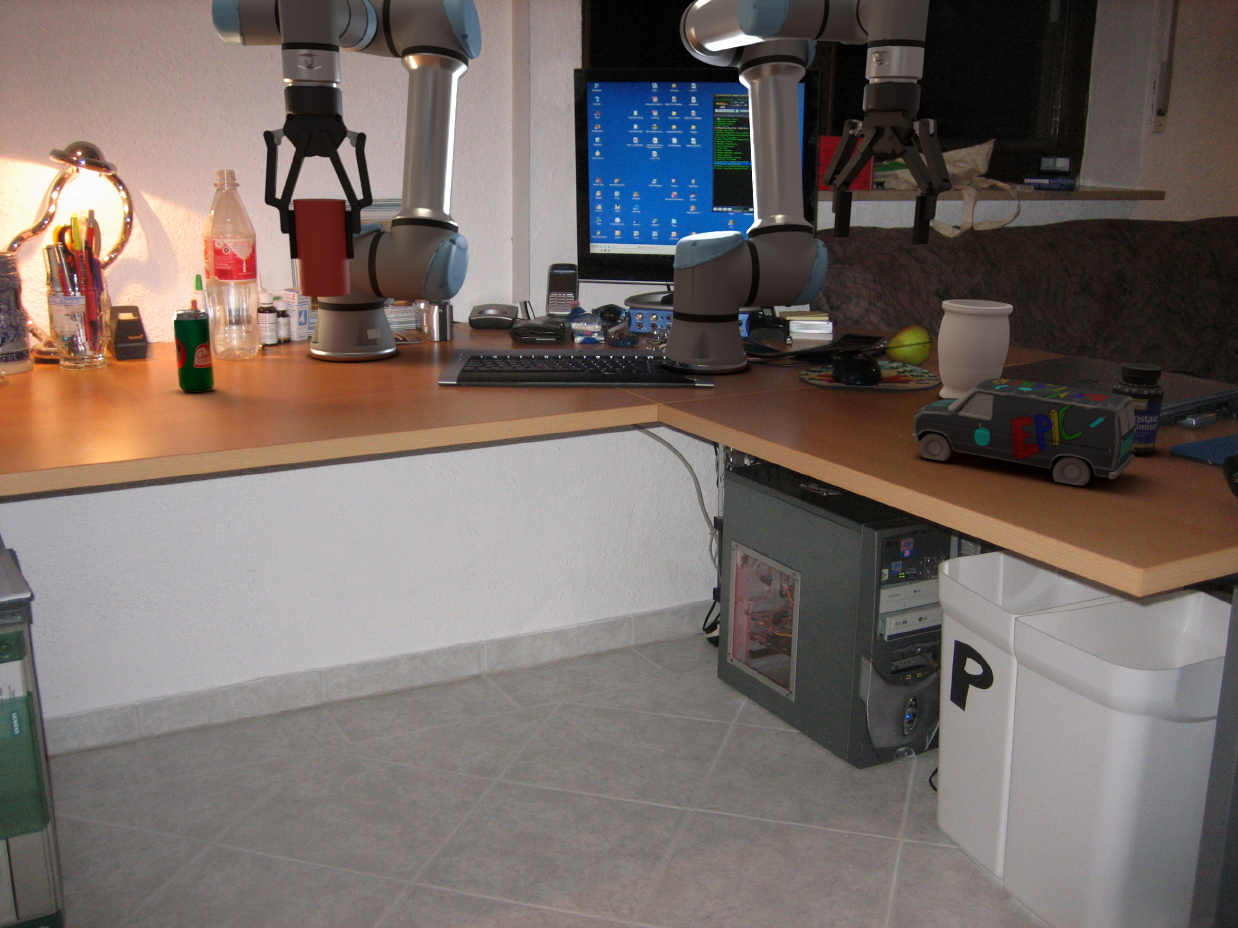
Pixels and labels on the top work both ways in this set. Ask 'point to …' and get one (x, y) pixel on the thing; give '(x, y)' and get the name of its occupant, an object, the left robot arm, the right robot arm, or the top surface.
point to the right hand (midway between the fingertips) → (879, 241)
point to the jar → (972, 344)
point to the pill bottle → (1142, 401)
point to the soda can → (193, 350)
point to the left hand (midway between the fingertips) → (323, 257)
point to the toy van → (1033, 428)
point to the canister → (321, 247)
